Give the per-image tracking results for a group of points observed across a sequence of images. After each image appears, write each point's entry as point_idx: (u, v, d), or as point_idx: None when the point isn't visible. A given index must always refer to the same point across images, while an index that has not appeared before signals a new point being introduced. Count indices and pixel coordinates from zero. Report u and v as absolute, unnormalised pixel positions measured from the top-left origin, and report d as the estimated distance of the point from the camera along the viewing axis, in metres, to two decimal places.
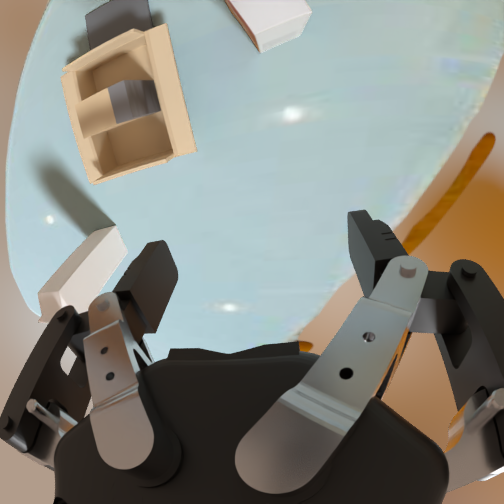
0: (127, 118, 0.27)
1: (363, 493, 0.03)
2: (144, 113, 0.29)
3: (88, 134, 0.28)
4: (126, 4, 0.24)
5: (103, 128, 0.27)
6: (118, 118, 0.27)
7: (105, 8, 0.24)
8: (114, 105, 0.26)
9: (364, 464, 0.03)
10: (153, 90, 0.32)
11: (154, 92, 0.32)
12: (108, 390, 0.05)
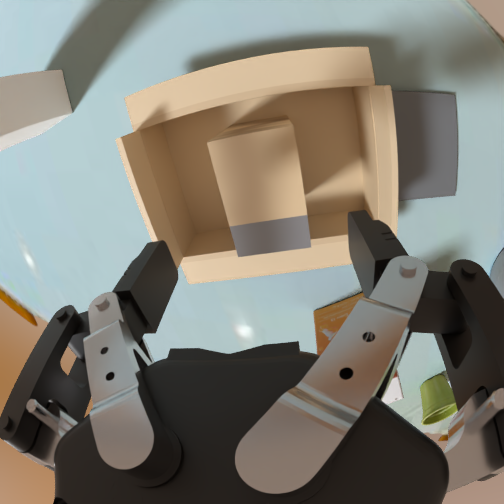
0: (237, 247, 0.19)
1: (363, 493, 0.03)
2: None
3: (215, 156, 0.15)
4: (440, 167, 0.22)
5: (224, 196, 0.17)
6: (240, 231, 0.18)
7: (451, 132, 0.20)
8: (267, 226, 0.18)
9: (364, 464, 0.03)
10: None
11: None
12: (109, 390, 0.05)
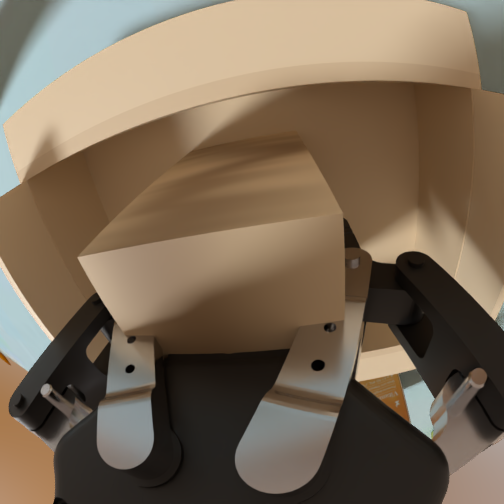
0: None
1: (363, 493, 0.03)
2: None
3: (107, 292, 0.05)
4: None
5: None
6: None
7: None
8: None
9: (364, 464, 0.03)
10: None
11: None
12: (125, 383, 0.05)
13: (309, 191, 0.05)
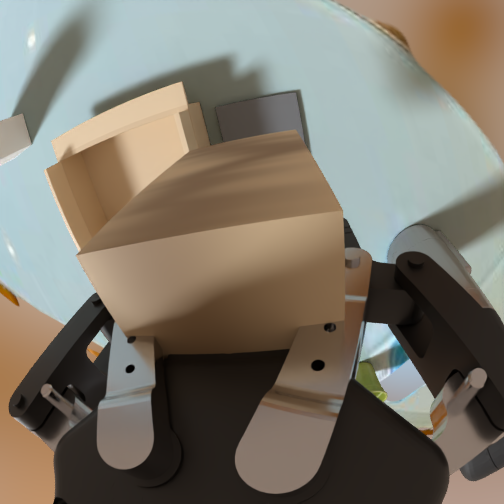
0: None
1: (363, 493, 0.03)
2: None
3: (106, 291, 0.05)
4: None
5: None
6: None
7: (294, 127, 0.28)
8: None
9: (364, 464, 0.03)
10: None
11: None
12: (125, 383, 0.05)
13: (309, 189, 0.05)
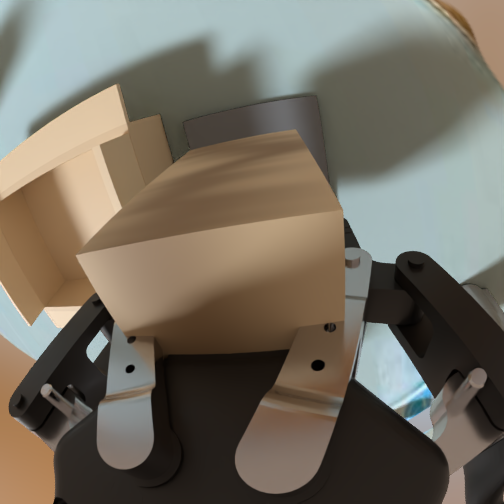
0: None
1: (363, 493, 0.03)
2: None
3: (106, 290, 0.05)
4: None
5: None
6: None
7: (313, 154, 0.17)
8: None
9: (364, 464, 0.03)
10: None
11: None
12: (125, 383, 0.05)
13: (309, 188, 0.05)
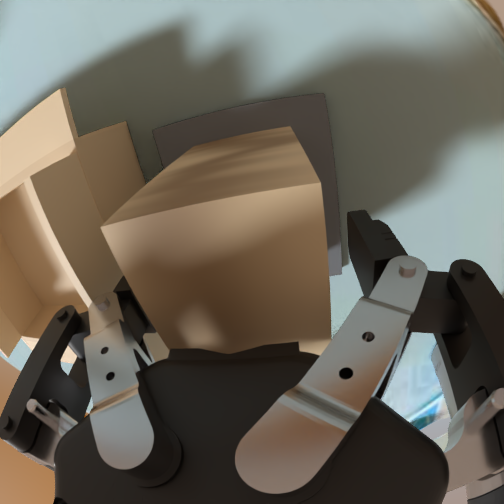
0: None
1: (363, 493, 0.03)
2: None
3: (125, 258, 0.06)
4: None
5: (161, 330, 0.08)
6: None
7: (319, 169, 0.14)
8: None
9: (364, 464, 0.03)
10: None
11: None
12: (109, 390, 0.05)
13: (296, 170, 0.06)
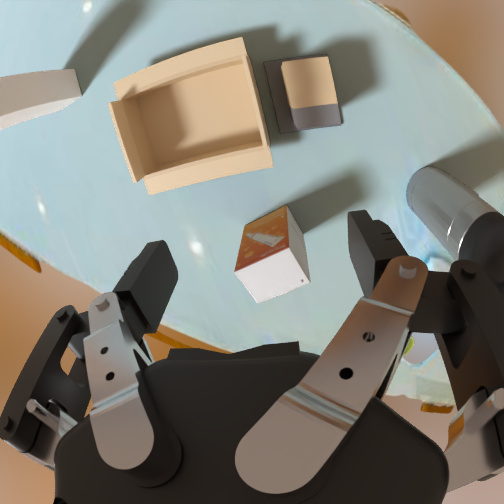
0: (297, 122, 0.28)
1: (363, 493, 0.03)
2: (296, 125, 0.31)
3: (287, 69, 0.24)
4: None
5: (291, 91, 0.26)
6: (299, 111, 0.27)
7: None
8: (315, 109, 0.26)
9: (364, 464, 0.03)
10: None
11: None
12: (109, 390, 0.05)
13: None
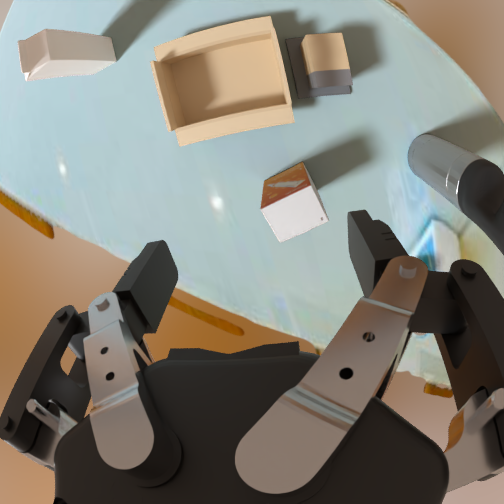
0: (317, 82, 0.31)
1: (363, 493, 0.03)
2: (315, 87, 0.34)
3: (309, 40, 0.27)
4: None
5: (312, 57, 0.29)
6: (319, 73, 0.30)
7: None
8: (332, 72, 0.30)
9: (364, 464, 0.03)
10: None
11: None
12: (108, 390, 0.05)
13: None
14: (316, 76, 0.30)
